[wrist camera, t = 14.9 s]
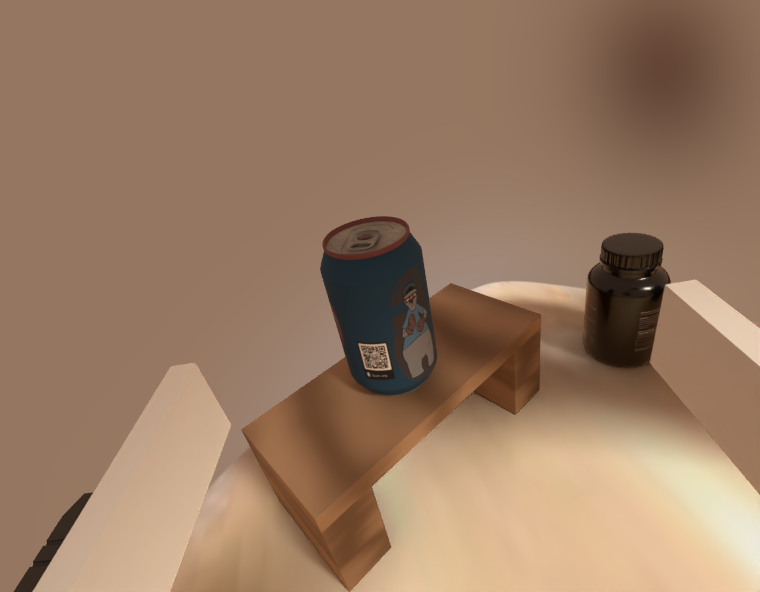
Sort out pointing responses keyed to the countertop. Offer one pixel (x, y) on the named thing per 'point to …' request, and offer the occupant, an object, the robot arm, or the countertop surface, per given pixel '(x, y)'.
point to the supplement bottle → (624, 300)
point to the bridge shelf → (387, 424)
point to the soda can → (380, 304)
